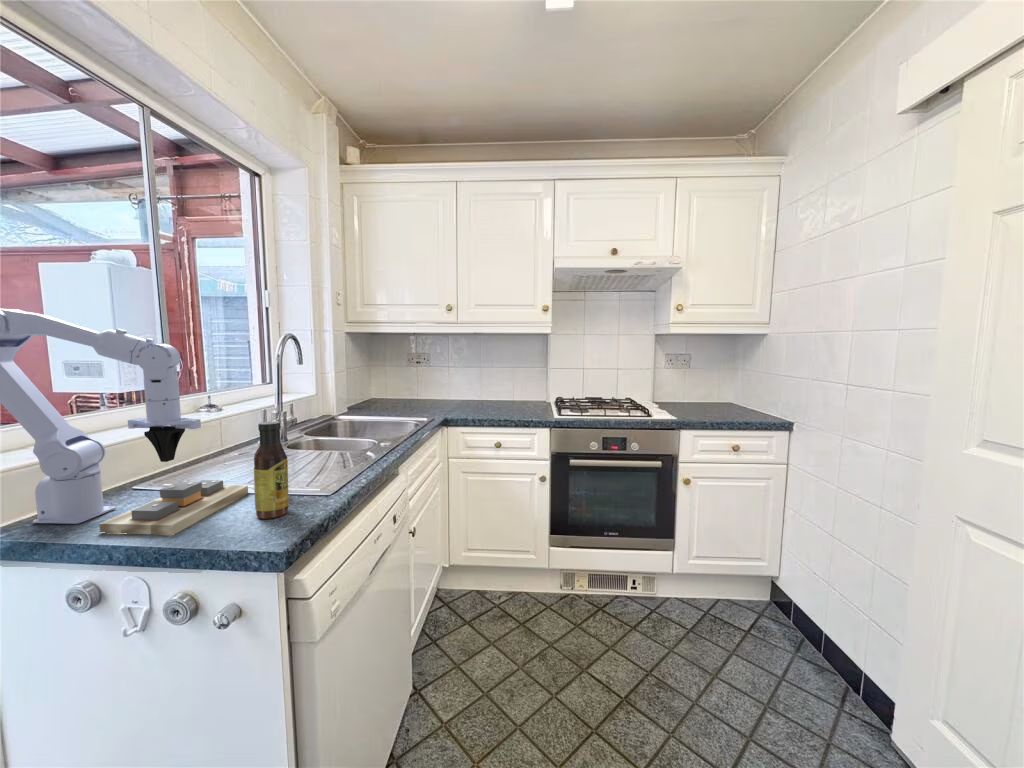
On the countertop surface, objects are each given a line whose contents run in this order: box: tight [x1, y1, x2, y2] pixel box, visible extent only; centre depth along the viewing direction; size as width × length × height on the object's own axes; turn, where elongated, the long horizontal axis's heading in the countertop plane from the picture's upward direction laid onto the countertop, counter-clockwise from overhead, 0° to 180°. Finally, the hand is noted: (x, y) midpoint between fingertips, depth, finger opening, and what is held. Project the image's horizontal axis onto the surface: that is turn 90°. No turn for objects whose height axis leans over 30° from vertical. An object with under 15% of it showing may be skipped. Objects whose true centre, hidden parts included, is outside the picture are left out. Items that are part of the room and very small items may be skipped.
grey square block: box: [131, 500, 179, 521], centre depth 83 cm, size 5×5×4 cm
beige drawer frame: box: [98, 484, 249, 536], centre depth 89 cm, size 14×22×2 cm, turn 179°
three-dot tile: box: [198, 479, 224, 496], centre depth 96 cm, size 5×5×4 cm
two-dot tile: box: [159, 481, 202, 507], centre depth 89 cm, size 5×5×4 cm
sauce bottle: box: [253, 420, 290, 520], centre depth 88 cm, size 6×6×20 cm
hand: (167, 460), depth 91 cm, fingers closed
